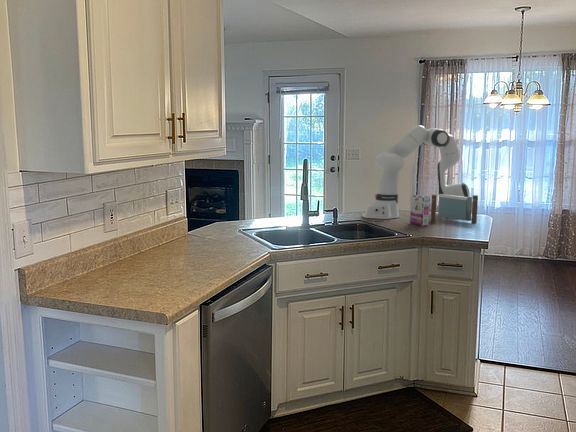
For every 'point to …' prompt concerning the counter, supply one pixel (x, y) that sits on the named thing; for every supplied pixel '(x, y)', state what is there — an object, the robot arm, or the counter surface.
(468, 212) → the gate
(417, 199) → the candy bar box
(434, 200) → the post
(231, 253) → the counter surface
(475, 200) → the gate post
